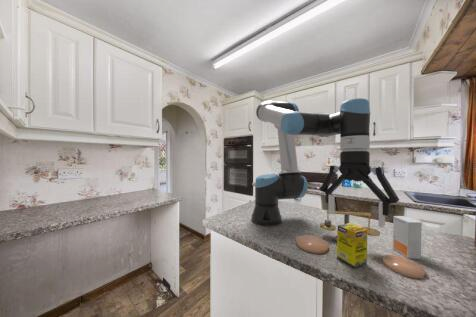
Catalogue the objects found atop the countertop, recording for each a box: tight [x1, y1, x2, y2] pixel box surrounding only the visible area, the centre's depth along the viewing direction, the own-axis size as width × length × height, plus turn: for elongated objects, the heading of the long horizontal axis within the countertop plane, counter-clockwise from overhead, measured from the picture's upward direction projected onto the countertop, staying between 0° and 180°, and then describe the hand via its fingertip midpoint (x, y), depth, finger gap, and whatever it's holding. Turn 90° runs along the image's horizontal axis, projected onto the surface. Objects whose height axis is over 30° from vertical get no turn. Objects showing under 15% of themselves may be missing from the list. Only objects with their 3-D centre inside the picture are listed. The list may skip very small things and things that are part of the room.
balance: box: [319, 210, 381, 244], centre depth 65 cm, size 20×6×13 cm, turn 36°
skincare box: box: [392, 215, 423, 260], centre depth 58 cm, size 6×4×12 cm
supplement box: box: [336, 222, 368, 269], centre depth 54 cm, size 6×6×11 cm
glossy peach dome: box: [382, 254, 426, 279], centre depth 51 cm, size 9×9×1 cm
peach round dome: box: [295, 234, 330, 255], centre depth 64 cm, size 11×11×1 cm
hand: (354, 219), depth 53 cm, fingers open, 13 cm apart
